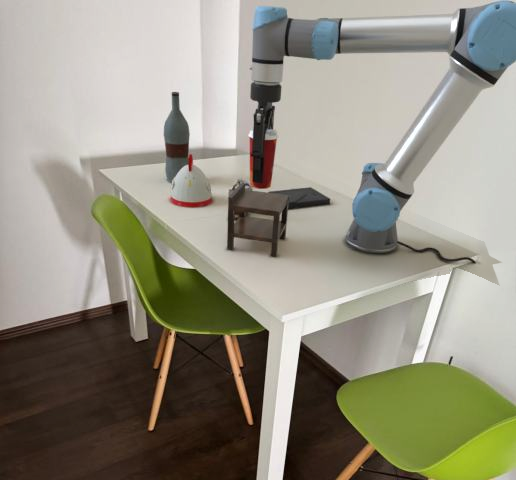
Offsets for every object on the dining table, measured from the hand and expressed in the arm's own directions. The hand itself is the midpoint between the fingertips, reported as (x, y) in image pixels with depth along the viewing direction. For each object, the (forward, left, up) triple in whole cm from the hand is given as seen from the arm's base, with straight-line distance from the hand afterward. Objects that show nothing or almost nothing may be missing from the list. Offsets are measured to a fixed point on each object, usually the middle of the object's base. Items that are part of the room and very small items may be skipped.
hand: (260, 178), depth 136 cm
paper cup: (0, 0, -2) cm, 2 cm away
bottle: (+42, -47, -19) cm, 66 cm away
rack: (0, 0, -19) cm, 19 cm away
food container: (+10, -20, -19) cm, 29 cm away
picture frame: (-5, -42, -19) cm, 46 cm away
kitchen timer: (+30, -28, -19) cm, 45 cm away
